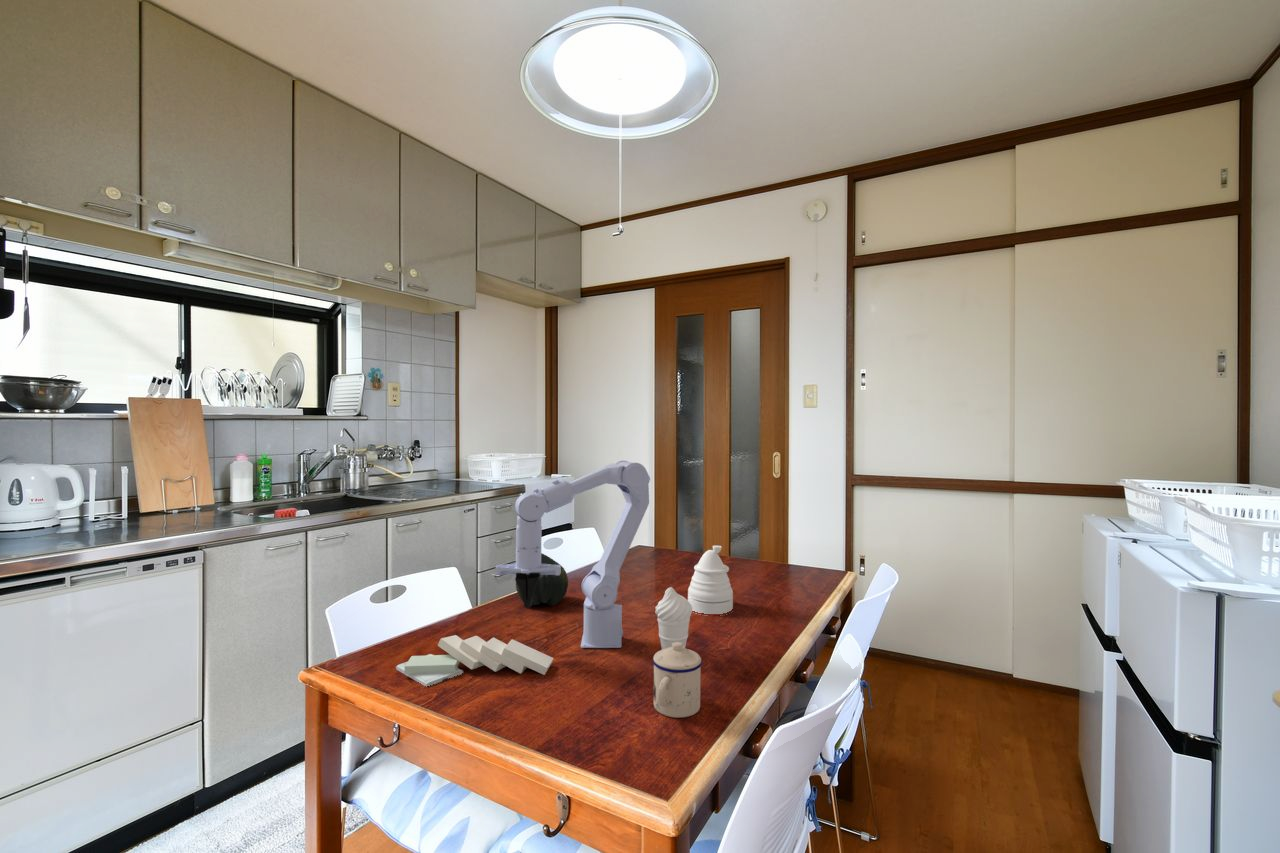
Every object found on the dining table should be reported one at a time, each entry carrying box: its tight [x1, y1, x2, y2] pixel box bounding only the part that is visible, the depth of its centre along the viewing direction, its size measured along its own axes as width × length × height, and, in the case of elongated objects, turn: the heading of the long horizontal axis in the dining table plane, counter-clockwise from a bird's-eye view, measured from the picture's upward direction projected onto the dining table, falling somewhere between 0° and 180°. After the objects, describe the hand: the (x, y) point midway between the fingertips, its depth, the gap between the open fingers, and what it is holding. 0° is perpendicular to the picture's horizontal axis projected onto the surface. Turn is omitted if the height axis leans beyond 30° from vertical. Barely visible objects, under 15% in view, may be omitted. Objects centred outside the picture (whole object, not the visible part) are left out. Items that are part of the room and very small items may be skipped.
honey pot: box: [687, 544, 734, 614], centre depth 158 cm, size 13×13×18 cm
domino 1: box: [403, 654, 461, 675], centre depth 116 cm, size 2×5×10 cm
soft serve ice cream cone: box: [654, 586, 693, 650], centre depth 123 cm, size 8×8×16 cm
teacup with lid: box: [652, 642, 703, 719], centre depth 101 cm, size 12×9×12 cm
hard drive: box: [395, 653, 464, 688], centre depth 116 cm, size 2×8×12 cm
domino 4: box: [480, 637, 528, 675], centre depth 118 cm, size 2×5×10 cm
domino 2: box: [437, 634, 485, 670], centre depth 119 cm, size 2×5×10 cm
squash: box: [515, 552, 569, 607], centre depth 162 cm, size 14×15×15 cm
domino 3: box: [459, 635, 507, 672], centre depth 118 cm, size 2×5×10 cm
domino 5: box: [501, 638, 554, 676], centre depth 117 cm, size 2×5×10 cm
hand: (527, 606), depth 126 cm, fingers closed
